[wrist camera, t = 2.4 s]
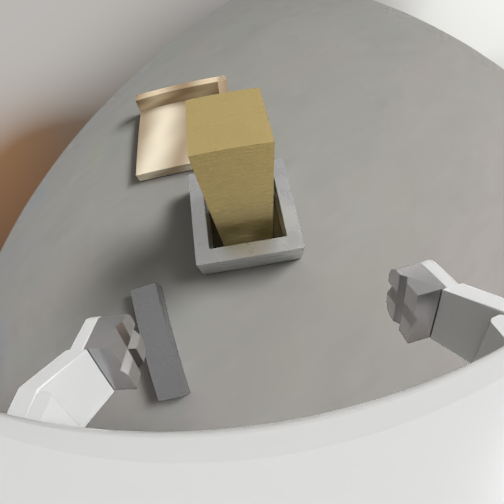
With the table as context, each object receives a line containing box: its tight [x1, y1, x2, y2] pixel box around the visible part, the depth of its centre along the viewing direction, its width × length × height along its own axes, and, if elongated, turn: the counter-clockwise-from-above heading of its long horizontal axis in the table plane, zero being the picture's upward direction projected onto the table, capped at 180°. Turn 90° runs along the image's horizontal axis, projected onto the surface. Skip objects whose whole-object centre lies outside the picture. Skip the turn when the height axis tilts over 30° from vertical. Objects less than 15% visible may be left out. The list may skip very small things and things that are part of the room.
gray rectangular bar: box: [130, 283, 190, 401], centre depth 25 cm, size 10×2×2 cm, turn 18°
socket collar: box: [189, 159, 305, 275], centre depth 27 cm, size 9×9×3 cm
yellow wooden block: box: [185, 88, 274, 247], centre depth 22 cm, size 4×4×14 cm
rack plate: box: [136, 76, 228, 181], centre depth 31 cm, size 11×11×3 cm
